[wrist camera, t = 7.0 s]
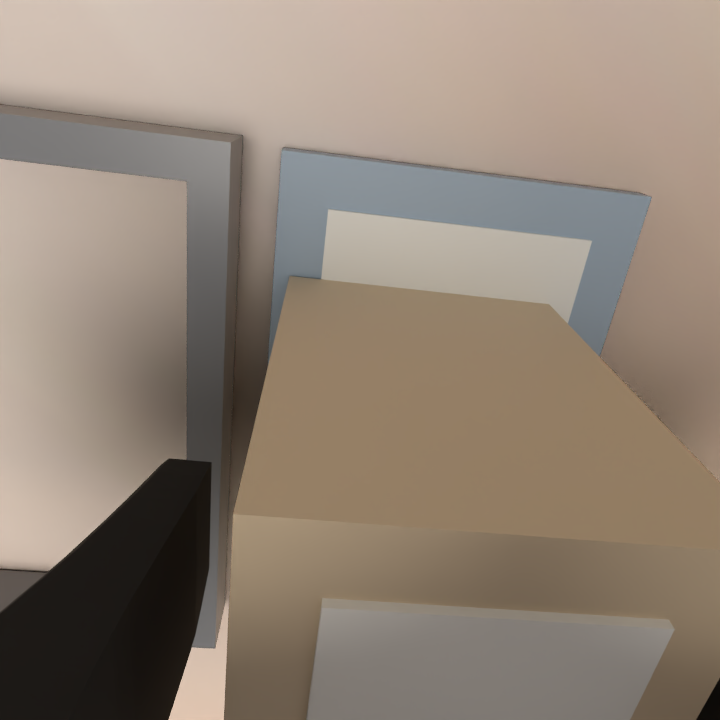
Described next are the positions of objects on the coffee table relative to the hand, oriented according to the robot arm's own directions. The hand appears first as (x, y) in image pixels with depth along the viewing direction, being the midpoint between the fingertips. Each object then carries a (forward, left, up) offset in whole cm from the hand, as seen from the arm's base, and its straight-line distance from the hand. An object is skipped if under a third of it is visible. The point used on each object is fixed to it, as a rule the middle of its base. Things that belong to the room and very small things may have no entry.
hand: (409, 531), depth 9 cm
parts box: (0, 0, -2) cm, 2 cm away
